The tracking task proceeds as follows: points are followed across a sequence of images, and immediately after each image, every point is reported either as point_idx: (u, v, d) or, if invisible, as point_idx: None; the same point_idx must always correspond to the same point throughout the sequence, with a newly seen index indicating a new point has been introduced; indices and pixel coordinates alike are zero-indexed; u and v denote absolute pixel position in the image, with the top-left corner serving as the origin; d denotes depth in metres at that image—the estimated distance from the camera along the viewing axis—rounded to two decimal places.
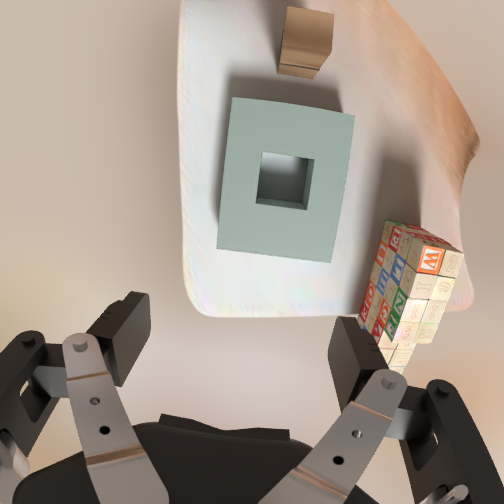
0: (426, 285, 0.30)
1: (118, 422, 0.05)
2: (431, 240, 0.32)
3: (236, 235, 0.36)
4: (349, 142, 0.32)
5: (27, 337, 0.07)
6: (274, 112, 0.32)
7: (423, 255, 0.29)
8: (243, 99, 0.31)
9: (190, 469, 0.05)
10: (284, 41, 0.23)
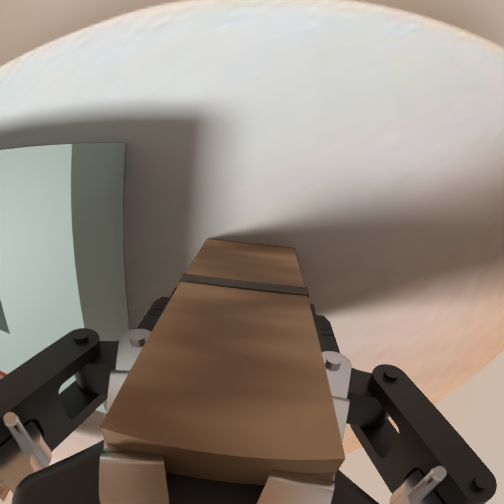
0: None
1: None
2: None
3: None
4: None
5: (81, 335, 0.08)
6: (52, 259, 0.11)
7: None
8: (66, 176, 0.10)
9: None
10: (115, 435, 0.04)
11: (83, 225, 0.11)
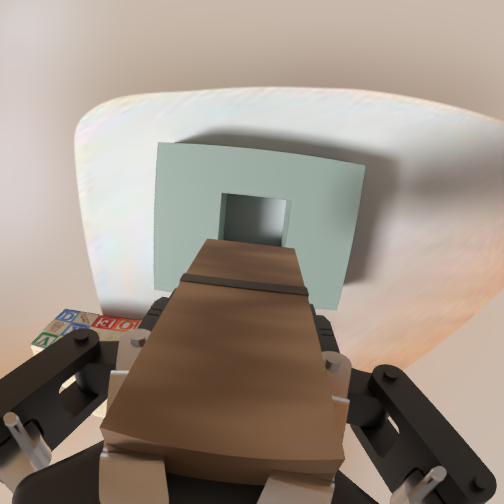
0: None
1: None
2: None
3: (176, 168, 0.25)
4: None
5: (81, 335, 0.08)
6: (343, 217, 0.26)
7: None
8: (361, 179, 0.25)
9: None
10: (115, 435, 0.04)
11: None
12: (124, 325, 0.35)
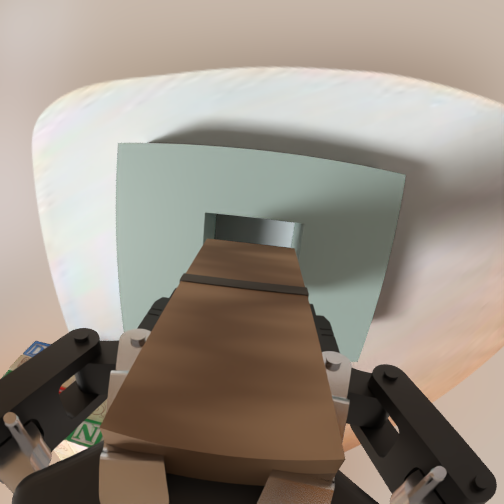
0: None
1: None
2: None
3: (142, 179, 0.18)
4: None
5: (81, 335, 0.08)
6: (374, 245, 0.18)
7: None
8: (399, 194, 0.17)
9: None
10: (115, 435, 0.04)
11: None
12: None
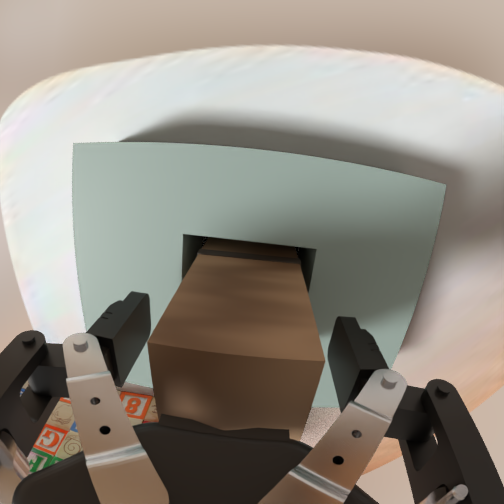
0: None
1: (118, 422, 0.05)
2: None
3: (103, 189, 0.13)
4: (326, 405, 0.17)
5: (28, 337, 0.07)
6: (404, 275, 0.14)
7: None
8: (438, 209, 0.13)
9: (190, 469, 0.05)
10: (158, 347, 0.07)
11: None
12: None
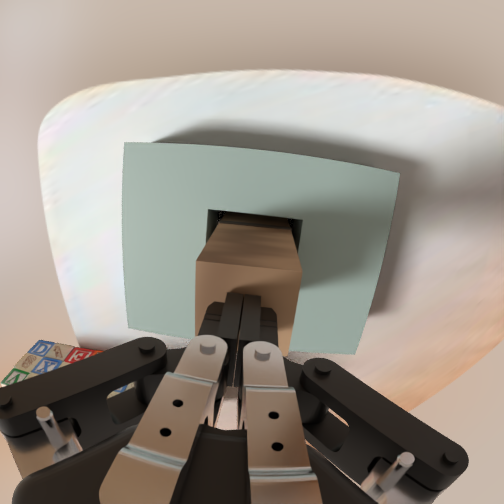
0: None
1: (183, 432, 0.05)
2: None
3: (148, 177, 0.19)
4: (315, 350, 0.22)
5: (146, 346, 0.08)
6: (370, 241, 0.19)
7: None
8: (394, 191, 0.18)
9: (190, 469, 0.05)
10: (202, 263, 0.13)
11: None
12: None
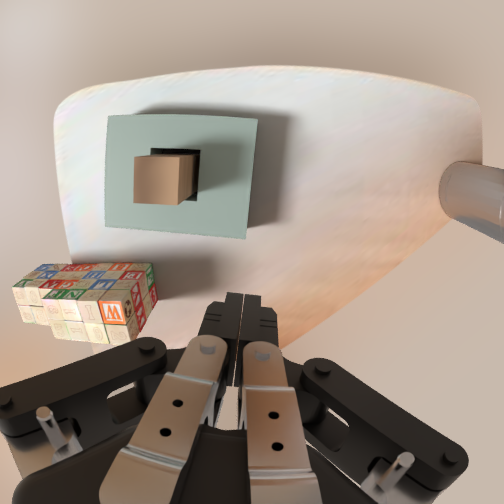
0: (91, 314, 0.32)
1: (183, 432, 0.05)
2: (134, 310, 0.35)
3: (120, 133, 0.32)
4: (217, 234, 0.36)
5: (146, 345, 0.08)
6: (242, 159, 0.33)
7: (112, 303, 0.32)
8: (254, 129, 0.32)
9: (190, 469, 0.05)
10: (137, 157, 0.26)
11: None
12: (85, 267, 0.42)
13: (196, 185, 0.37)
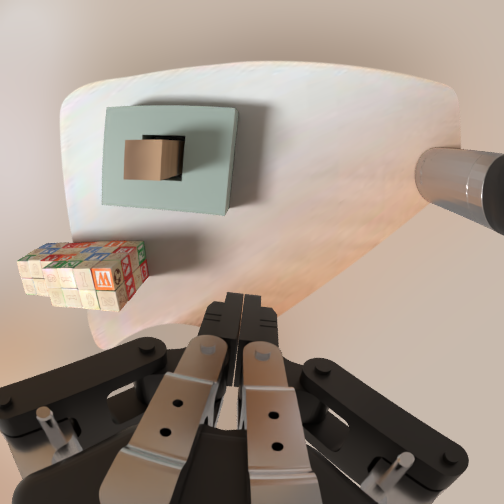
0: (84, 281, 0.36)
1: (183, 432, 0.05)
2: (124, 279, 0.39)
3: (116, 122, 0.36)
4: (199, 211, 0.40)
5: (146, 346, 0.08)
6: (221, 144, 0.37)
7: (103, 270, 0.36)
8: (232, 117, 0.36)
9: (190, 469, 0.05)
10: (127, 140, 0.30)
11: (233, 134, 0.37)
12: (84, 245, 0.46)
13: (182, 168, 0.40)
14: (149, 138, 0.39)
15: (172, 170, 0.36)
